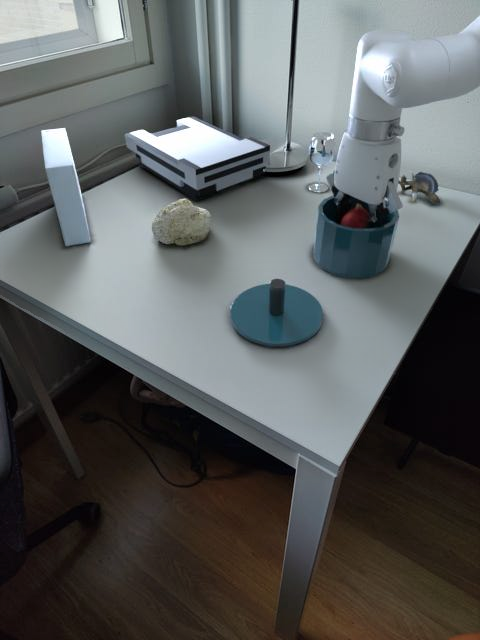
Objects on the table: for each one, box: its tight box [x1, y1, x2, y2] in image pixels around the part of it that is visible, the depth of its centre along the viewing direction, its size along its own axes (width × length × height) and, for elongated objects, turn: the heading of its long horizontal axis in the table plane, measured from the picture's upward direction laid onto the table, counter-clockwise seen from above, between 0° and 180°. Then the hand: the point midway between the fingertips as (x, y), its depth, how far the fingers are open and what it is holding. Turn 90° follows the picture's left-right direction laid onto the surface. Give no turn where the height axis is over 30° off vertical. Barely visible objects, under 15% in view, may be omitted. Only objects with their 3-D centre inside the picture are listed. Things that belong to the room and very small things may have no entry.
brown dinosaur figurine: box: [398, 169, 441, 206], centre depth 101 cm, size 8×7×9 cm
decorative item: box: [151, 197, 212, 246], centre depth 90 cm, size 12×9×10 cm
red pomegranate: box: [340, 204, 370, 229], centre depth 81 cm, size 6×6×8 cm
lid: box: [229, 278, 324, 347], centre depth 71 cm, size 15×15×7 cm
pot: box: [313, 194, 400, 279], centre depth 83 cm, size 14×14×10 cm
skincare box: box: [40, 127, 92, 247], centre depth 93 cm, size 21×5×16 cm, turn 20°
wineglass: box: [308, 131, 336, 193], centre depth 104 cm, size 6×6×12 cm
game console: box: [124, 116, 271, 202], centre depth 114 cm, size 21×32×8 cm, turn 38°
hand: (356, 230), depth 82 cm, fingers closed on red pomegranate, 5 cm apart
